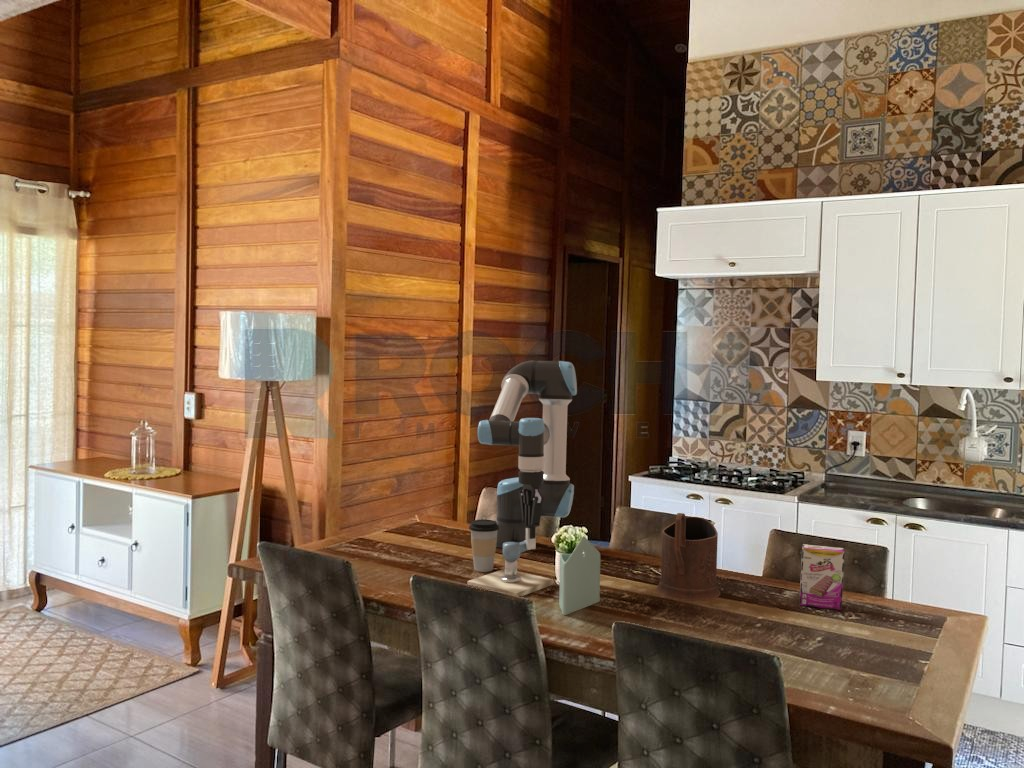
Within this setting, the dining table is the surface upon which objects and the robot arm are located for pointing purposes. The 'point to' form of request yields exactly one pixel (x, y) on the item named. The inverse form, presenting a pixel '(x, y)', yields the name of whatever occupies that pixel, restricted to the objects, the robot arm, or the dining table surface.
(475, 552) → the coffee cup
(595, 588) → the planter
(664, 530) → the rusty brown jug
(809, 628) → the dining table surface
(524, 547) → the cap
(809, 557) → the candy bar box
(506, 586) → the base board
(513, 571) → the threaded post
